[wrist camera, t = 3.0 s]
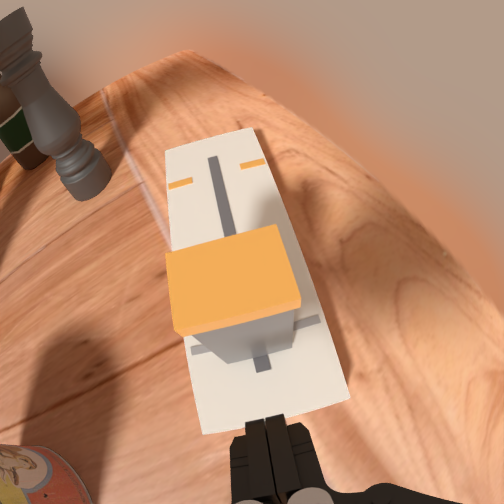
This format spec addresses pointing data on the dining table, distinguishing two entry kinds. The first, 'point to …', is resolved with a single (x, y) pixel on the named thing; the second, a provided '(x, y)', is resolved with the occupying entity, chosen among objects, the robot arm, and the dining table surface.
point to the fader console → (310, 313)
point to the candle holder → (49, 112)
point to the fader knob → (235, 294)
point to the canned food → (38, 477)
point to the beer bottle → (17, 131)
